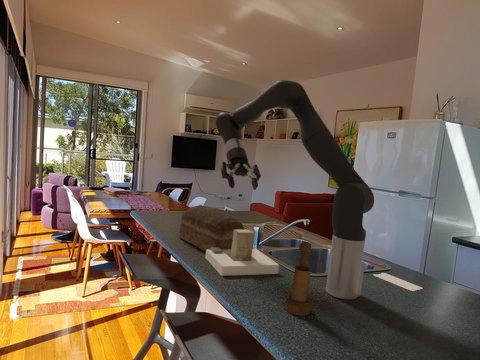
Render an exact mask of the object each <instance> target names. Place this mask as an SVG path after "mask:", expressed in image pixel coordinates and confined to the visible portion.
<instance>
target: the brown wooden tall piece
mask: <svg viewBox="0 0 480 360" xmlns="http://www.w3.org/2000/svg"><path fill="white" fill-rule="evenodd" d="M298 247H299V248H298V249H299V252H300V254H301V256H300V258H299V259H298V260H299V265H296V266H295V267H294V273H293V275H294V276H293V282H292V283H293V284H292V290H291V295H289V297H287V298H286V300H285V306H284V308H285V310H286V311H287V312H288V313H289V314H291V315H296V316H298V317H299V316H301V317H304V316H308V315H310V314H311V311H312V309H311V308H312V303H311V301H309V299H308V292H309V285H310V284H309V283H310V277H311V268H310V267H308V266H307V265H308V263H309V259H308V255H309V254H310V253H311V250H312V245H311V243H310V242H308V241H302V242H300V244H299V245H298Z"/></svg>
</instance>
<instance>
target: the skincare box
mask: <svg viewBox="0 0 480 360" xmlns="http://www.w3.org/2000/svg"><path fill="white" fill-rule="evenodd" d="M254 238H255V232H254V231H252V230H250V229H244V230H234V233H233V241H232V249H231V257H230V258H231V259H232V260H233V261H251V256H252V249H254V247H253V245H254Z"/></svg>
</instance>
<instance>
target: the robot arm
mask: <svg viewBox="0 0 480 360" xmlns="http://www.w3.org/2000/svg"><path fill="white" fill-rule="evenodd" d="M277 108H281V109H286V110H287V109H288V110H290V111H291V112H292V113H293V114H294V117H295V118H296V120H297V121H298V123H299V127H300V128H299V130H300V138H301V139H300V140H301V143H302V145H303V147H304V148H305V150H306V152H307V153H308V155H309V156H310V157H311V159H312V160H313V161H314V162H315V164H316V165H317V166H319V167H320V168H321V169H322V170H323V171H324V172H325V173H326V174H327V175H329V177H330V178H331V179H332V180H333V181H334V183H335V184H336V186H337V187H338V188H337V189H336V192H335V194H334V197H333V203H332V204H333V205H332V213H331V214H332V215H331V226H332V229H333V230H332V231H333V232H332V238H331V239H332V241H331V246H330V247H331V249H330V254H329V256H330V257H329V263H328V271H327V277H326V286H325V291H326V293H327V294H328V295H330V296H332V297H334V298H338V299H342V300H355V299H357V298H359V297H361V294H362V286H363V279H364V271H365V264H363V258H364V250H365V246H366V244H365V243H366V237H367V230H366V229H365V228H364V226H363V222H364V221H363V220H364V214H366V213H368V212H369V211H371V210H372V209H373V207H374V205H375V196H374V192H373V190H372V189H371V187H370V186H369V185H368V184H367V182H365V181H364V179H363V178H362V177H361V176H360V174H359V173H358V172H357V170H355V168H354V167H353V165H352V164H351V162H350V161H349V158H347V156H346V154H345V152H344V151H343V150H342V148H341V147H340V145H339V144H338V141H337V140H336V139H335V137H334V135H333V134H332V132H331V131H330V129H329V128H328V127H327V126H326V124H325V123H324V121H323V119H322V117H321V116H320V115H319V113H318V112H317V111H316V109H315V107H314V105H313V104H312V101H311V99H310V97H309V95H308V94H307V91H306V90H305V88H304V87H303V86H302V84H300V83H299V82H296V81H294V80H293V81H292V80H286V79H280V80H277V81H275V82H274V83H273V84H271V85H270V86H269V87H268V88H266V89H265V90H264V91H262V92H261V94H259V95H258V96H257V97H256V98H253V100H251V101H250V102H248V103H246V104H244V105H241V106H240V107H238V108H237V109H235V110H234V112H233V113H232V114H230V113H228V112H226V111H222V112H220V113H218V115H217V116H216V118H215V126H216V129H217V131H218V133H219V135H220V137H221V138H222V140H223V144H224V152H225V156H226V161H227V163H226V161H222V162H221V165H220V173H221V178H222V179H226V180H227V182H228V186H229V188H231V189H234V188H235V179H234V176H236V177H239V176H241V177H245V178H246V179H248V180H250V181H251V182H250V183H251V185H252V189H253V190H255V191H256V190H257V188H258V187H259V183H258V182H259V180H260V178H261V177H262V175H261V172H260V170H259V167H258V165H257V164H254V165H250V163H249V157H248V154H247V151H246V147H245V144H244V142H243V138H242V135H241V133H240V132H241V130H243V129H244V128H245V127H246V126H247V125H249V124H251V123H253V122H255V121H257V120H258V119H259V118H260V117H261V116H262V115H263V114H264V113H265V112H266V111H268V110H272V109H277ZM228 170H230V172H229V173H228Z"/></svg>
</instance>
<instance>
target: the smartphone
mask: <svg viewBox="0 0 480 360" xmlns="http://www.w3.org/2000/svg"><path fill="white" fill-rule="evenodd" d="M371 276H372V277H374V278H377V279H378V280H379V279H380V280H382V281H385V282H387V283H389V284H392V285H395V286H397V287H400V288H403V289H405V290H408V291H409V292H417V291H421V290H425V288H424V287H423V286H420V285H417V284H414V283H412V282H409V281H407V280H404V279H402V278H399V277H397V276H395V275H391V274H389V273H386V272H377V273H372V274H371Z"/></svg>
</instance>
